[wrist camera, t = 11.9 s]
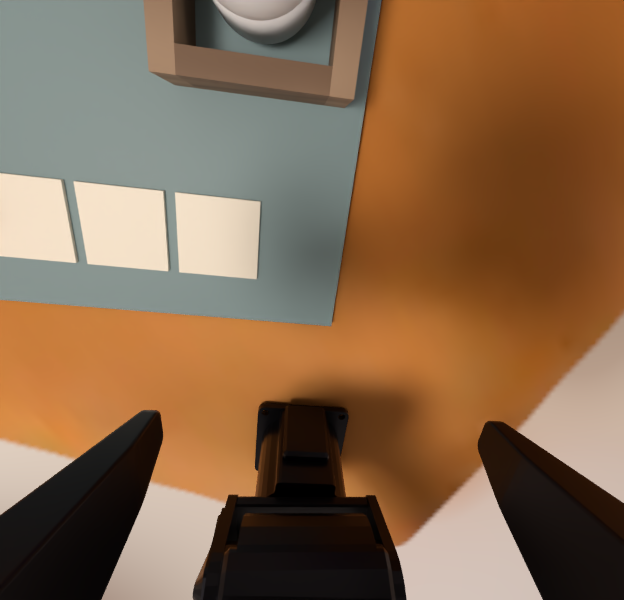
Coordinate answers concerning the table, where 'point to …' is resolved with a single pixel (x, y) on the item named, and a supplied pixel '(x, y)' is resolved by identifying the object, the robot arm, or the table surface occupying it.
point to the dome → (265, 18)
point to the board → (168, 170)
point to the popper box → (254, 58)
